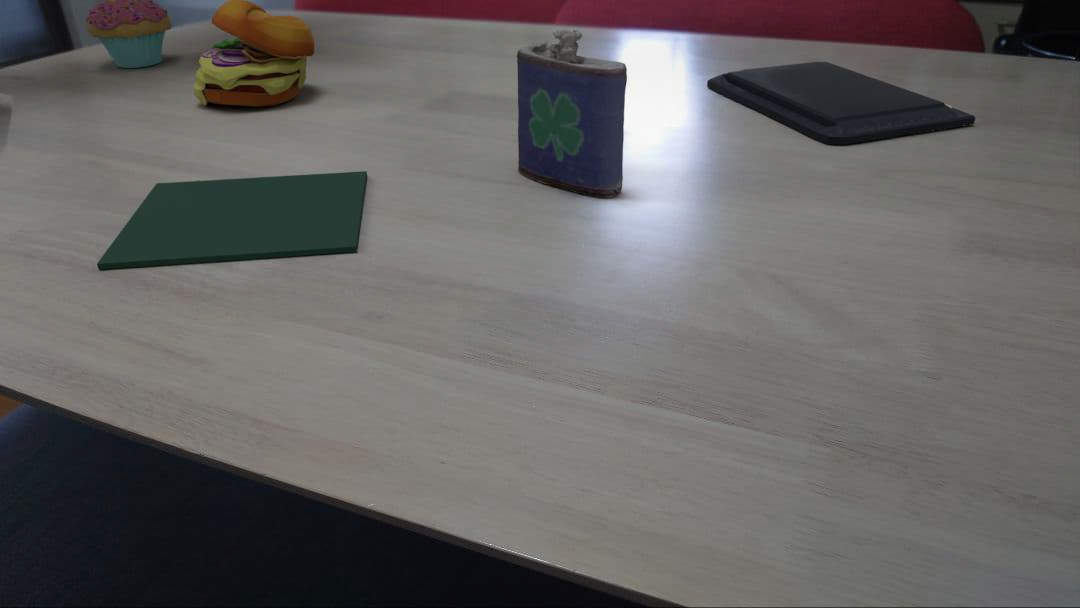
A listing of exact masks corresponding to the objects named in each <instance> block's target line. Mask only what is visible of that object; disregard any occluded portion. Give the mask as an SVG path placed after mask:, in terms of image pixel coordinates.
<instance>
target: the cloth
mask: <svg viewBox="0 0 1080 608" xmlns="http://www.w3.org/2000/svg"><path fill="white" fill-rule="evenodd" d="M367 179H368V171H366V170H364V171H363V170H362V171H346V172H329V173H328V172H327V173H312V174H311V173H310V174H295V175H278V176H260V177H259V176H257V177H241V178H225V179H224V178H223V179H209V180H208V179H207V180H193V181H192V180H191V181H173V182H158V183H156V184H155V185H154V186H153V188H152V189H151V190H150V192H149V193H148V194H147V195H146V197H145V198H144V200H143V201H142V202H141V204H140V205H139V206H138V208H137V209H136V211H134V213H133V214H132V216H131V217H130V219H129V220H128V221H127V223H126V224H125V225H124V226H123V228H122V229H121V231H120V232H119V233H118V235H117V236H116V237H115V239H114V240H113V241H112V243H110V246H109V247H108V248H107V250H106V251H105V252H104V253H103V255H102V256H101V258H100V259H99V260H98V262H97V263H96V266H97V268H98V270H110V269H111V270H112V269H125V268H141V267H142V268H143V267H156V266H170V265H185V264H186V265H187V264H199V263H200V264H201V263H213V262H214V263H215V262H229V261H230V262H231V261H242V260H243V261H245V260H258V259H271V258H272V259H274V258H284V257H285V258H286V257H287V258H288V257H302V256H303V257H304V256H316V255H317V256H318V255H331V254H345V253H346V254H347V253H357V252H358V245H359V236H360V232H361V224H362V217H363V209H364V202H365V193H366V187H367Z"/></svg>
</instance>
